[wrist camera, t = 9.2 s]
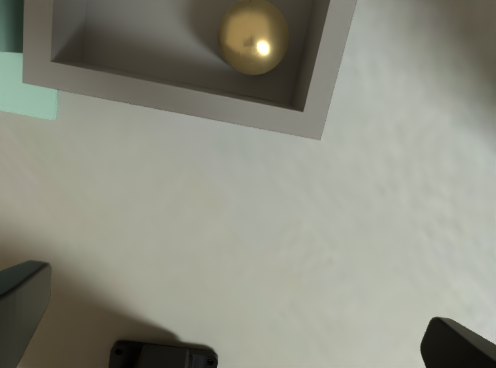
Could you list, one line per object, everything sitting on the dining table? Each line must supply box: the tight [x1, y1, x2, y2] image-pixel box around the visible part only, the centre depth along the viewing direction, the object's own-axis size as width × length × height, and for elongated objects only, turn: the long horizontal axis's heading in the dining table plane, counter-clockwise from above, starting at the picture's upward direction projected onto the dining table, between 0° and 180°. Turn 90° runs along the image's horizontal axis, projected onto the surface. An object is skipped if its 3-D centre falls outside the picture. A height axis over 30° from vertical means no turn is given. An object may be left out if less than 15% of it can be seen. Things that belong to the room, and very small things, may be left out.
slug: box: [218, 0, 289, 75], centre depth 17 cm, size 3×3×2 cm
